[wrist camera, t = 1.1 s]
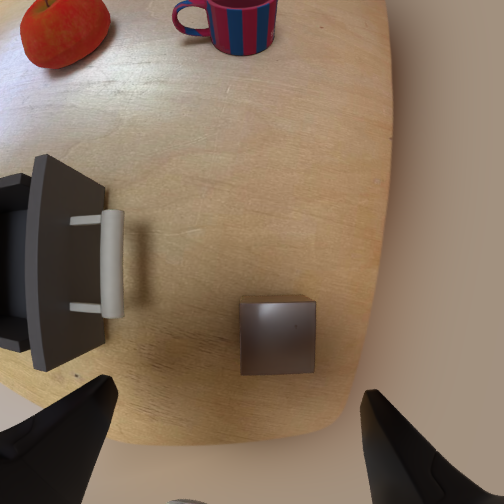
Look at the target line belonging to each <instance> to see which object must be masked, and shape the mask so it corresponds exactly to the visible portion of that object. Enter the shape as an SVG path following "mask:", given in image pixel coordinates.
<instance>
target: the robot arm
mask: <svg viewBox="0 0 504 504" xmlns="http://www.w3.org/2000/svg"><path fill="white" fill-rule="evenodd" d="M117 399H118V390H117V387H116V385H115V383H114V381H113V378H112V377H111V376H108V375H103V374H102V375H99V376H98V377H96V378H94V379H93V380H91V381H90V382H88V383H86V384H85V385H83V386H81V387H80V388H78V389H77V390H75V391H73V392H72V393H70V394H68V395H67V396H65V397H63V398H62V399H60V400H58V401H57V402H55V403H53V404H52V405H50V406H48V407H47V408H45V409H43V410H42V411H40V412H38V413H37V414H35V416H34V415H33V416H31V417H30V418H28V419H26V420H25V421H23V422H21V423H19V424H17V425H15V426H13V427H11V428H9V429H7V430H4V431H2V432H0V504H81V502H82V500H83V496H84V494H85V491H86V488H87V485H88V482H89V479H90V477H91V474H92V471H93V468H94V466H95V463H96V461H97V458H98V455H99V453H100V450H101V447H102V445H103V442H104V440H105V437H106V435H107V432H108V430H109V427H110V423H111V420H112V416H113V413H114V409H115V406H116V402H117ZM360 416H361V429H362V442H363V451H364V457H365V462H366V467H367V473H368V479H369V485H370V490H371V497H372V502H373V504H504V496H498V495H493V494H491V493H488V492H486V491H485V490H483V489H482V488H480V487H479V486H478V485H476V484H475V483H474V482H472V481H471V480H470V479H469V478H467V477H466V476H465V475H463V474H462V473H461V472H460V471H458V470H457V469H456V468H455V467H454V466H452V465H451V464H450V463H449V462H448V461H447V460H446V459H445V458H444V457H443V456H442V455H441V454H440V453H439V452H438V451H436V449H435V448H434V447H433V446H432V445H431V444H430V443H429V442H428V441H427V440H426V439H425V438H424V437H423V436H422V435H421V434H420V433H419V432H418V431H417V430H416V429H415V428H414V427H413V425H412V424H410V422H409V421H408V420H407V419H406V418H405V417H404V416H403V415H402V414H401V413H400V412H399V411H398V410H397V409H396V408H395V407H394V406H393V405H392V404H391V403H390V402H389V401H388V400H387V399H386V398H385V397H384V396H383V395H382V394H381V393H380V392H379V391H378V390H377V389H373V390H366V391H365V393H364V396H363V399H362V402H361V406H360Z"/></svg>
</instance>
